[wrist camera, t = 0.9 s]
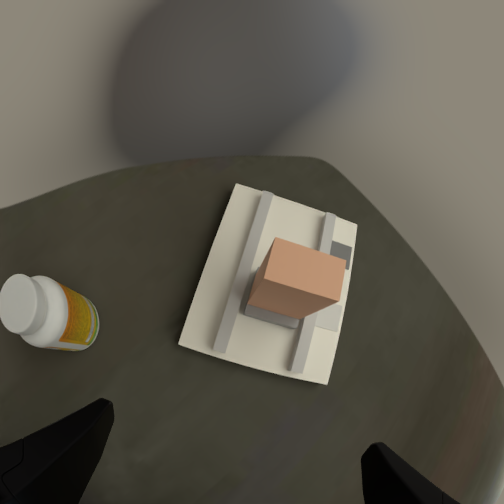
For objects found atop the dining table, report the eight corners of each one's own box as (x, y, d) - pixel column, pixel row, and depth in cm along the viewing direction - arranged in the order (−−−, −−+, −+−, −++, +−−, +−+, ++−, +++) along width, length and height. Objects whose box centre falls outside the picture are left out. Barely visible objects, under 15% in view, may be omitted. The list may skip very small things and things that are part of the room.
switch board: (320, 383, 23) (331, 385, 20) (180, 344, 23) (176, 343, 20) (351, 230, 29) (361, 220, 26) (235, 191, 28) (237, 177, 26)
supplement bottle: (87, 285, 23) (32, 248, 14) (110, 335, 22) (55, 322, 13) (47, 310, 21) (-14, 285, 12) (68, 360, 20) (4, 356, 11)
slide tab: (293, 329, 23) (336, 314, 14) (242, 314, 23) (259, 291, 14) (303, 285, 24) (348, 248, 16) (256, 270, 24) (278, 225, 16)
